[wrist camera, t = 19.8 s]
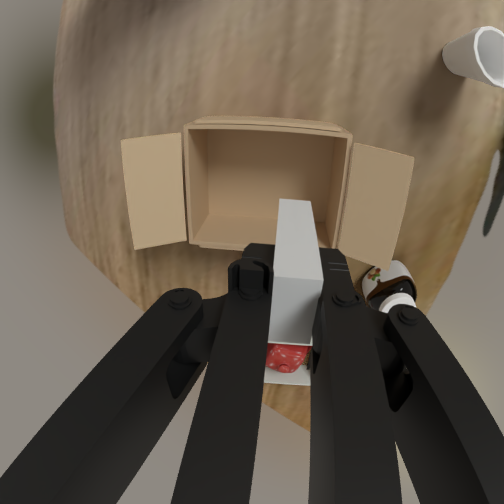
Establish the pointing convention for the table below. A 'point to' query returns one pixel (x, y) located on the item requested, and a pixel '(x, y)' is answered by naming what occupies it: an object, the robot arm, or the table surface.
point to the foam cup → (477, 56)
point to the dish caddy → (295, 378)
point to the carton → (262, 177)
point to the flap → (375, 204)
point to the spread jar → (389, 287)
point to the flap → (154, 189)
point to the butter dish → (285, 356)
